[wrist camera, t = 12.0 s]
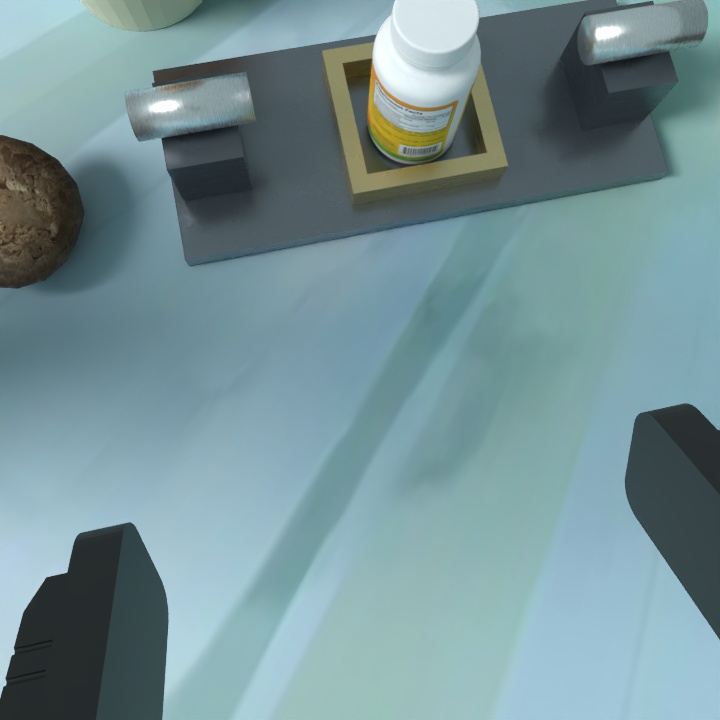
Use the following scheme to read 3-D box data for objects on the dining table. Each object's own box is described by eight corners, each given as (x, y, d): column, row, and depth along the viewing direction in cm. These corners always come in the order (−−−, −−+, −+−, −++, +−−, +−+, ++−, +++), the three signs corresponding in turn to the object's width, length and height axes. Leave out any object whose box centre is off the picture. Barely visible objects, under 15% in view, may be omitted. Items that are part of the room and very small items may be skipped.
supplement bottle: (409, 67, 40) (432, -62, 30) (474, 124, 39) (519, 12, 30) (347, 125, 39) (351, 11, 30) (413, 185, 39) (440, 89, 29)
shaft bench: (180, 267, 38) (144, 218, 31) (148, 82, 40) (108, -5, 33) (667, 177, 40) (740, 111, 33) (615, 5, 42) (673, -92, 35)
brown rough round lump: (-120, 179, 35) (-116, 157, 30) (24, 130, 39) (48, 104, 34) (-34, 312, 38) (-18, 312, 33) (92, 254, 42) (123, 246, 37)
